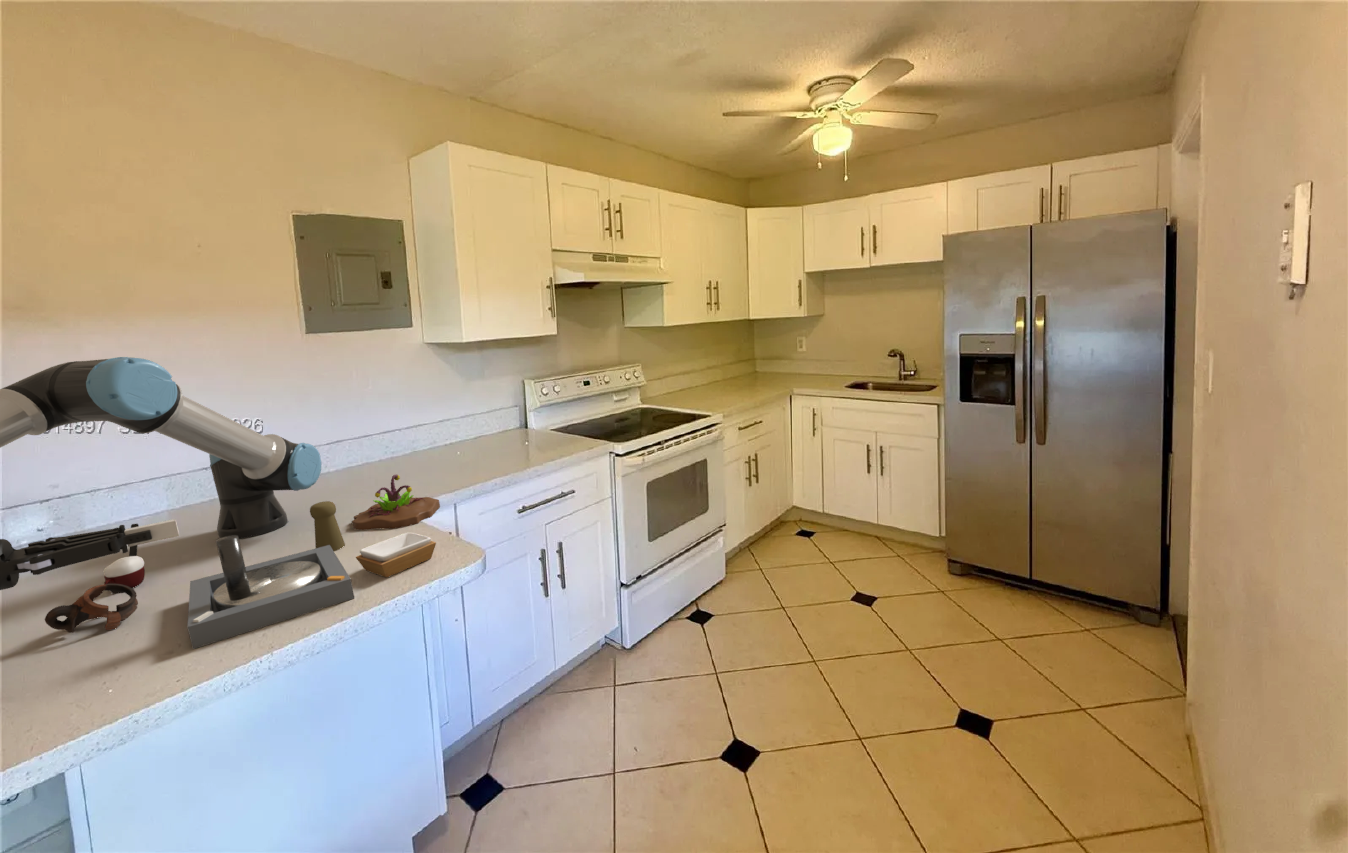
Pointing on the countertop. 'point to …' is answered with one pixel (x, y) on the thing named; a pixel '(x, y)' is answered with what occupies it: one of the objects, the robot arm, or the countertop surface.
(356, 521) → the plant
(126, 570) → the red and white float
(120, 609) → the brown split ring clamp
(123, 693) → the countertop surface
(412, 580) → the countertop surface
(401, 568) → the soap dish
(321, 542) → the cork
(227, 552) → the dial
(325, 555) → the tray
